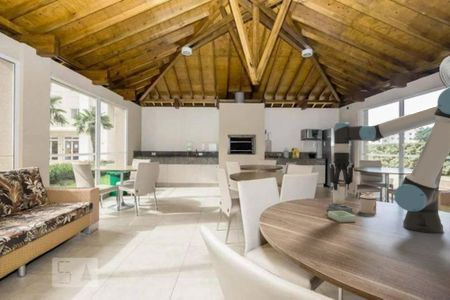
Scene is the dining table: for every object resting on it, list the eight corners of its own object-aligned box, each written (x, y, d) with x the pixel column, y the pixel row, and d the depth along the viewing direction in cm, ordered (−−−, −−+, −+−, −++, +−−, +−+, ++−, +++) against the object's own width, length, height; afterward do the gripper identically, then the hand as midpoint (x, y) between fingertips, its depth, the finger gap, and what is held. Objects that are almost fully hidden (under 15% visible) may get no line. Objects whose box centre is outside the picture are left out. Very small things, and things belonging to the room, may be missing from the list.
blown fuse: (346, 202, 142) (347, 179, 142) (339, 203, 141) (339, 180, 141) (342, 201, 146) (342, 178, 146) (335, 201, 145) (335, 179, 145)
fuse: (341, 208, 160) (341, 188, 160) (335, 208, 159) (335, 188, 159) (337, 206, 164) (337, 187, 164) (331, 207, 163) (331, 187, 163)
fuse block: (353, 215, 152) (353, 207, 152) (340, 215, 151) (340, 208, 151) (339, 209, 166) (339, 202, 166) (327, 209, 165) (327, 203, 165)
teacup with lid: (378, 214, 153) (378, 194, 153) (360, 213, 156) (360, 193, 156) (374, 210, 164) (374, 190, 164) (357, 209, 167) (357, 190, 167)
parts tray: (355, 221, 139) (355, 215, 139) (339, 222, 137) (339, 216, 137) (343, 216, 149) (343, 210, 149) (327, 216, 148) (327, 211, 148)
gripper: (351, 151, 148) (351, 194, 148) (322, 151, 145) (322, 195, 146) (360, 152, 141) (360, 197, 141) (330, 152, 138) (330, 198, 138)
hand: (341, 196), depth 143 cm, fingers closed on blown fuse, 4 cm apart
